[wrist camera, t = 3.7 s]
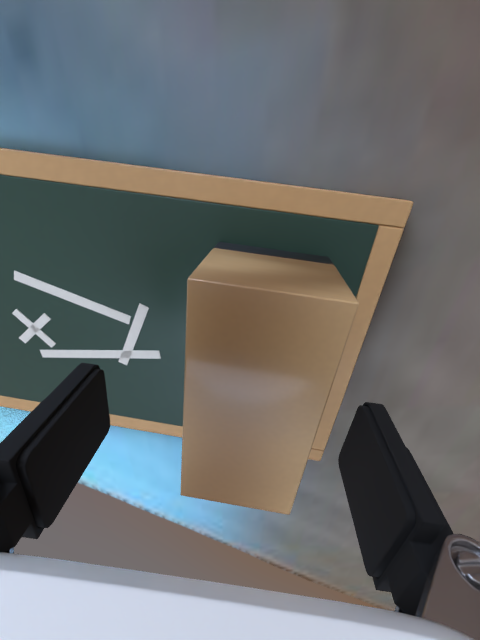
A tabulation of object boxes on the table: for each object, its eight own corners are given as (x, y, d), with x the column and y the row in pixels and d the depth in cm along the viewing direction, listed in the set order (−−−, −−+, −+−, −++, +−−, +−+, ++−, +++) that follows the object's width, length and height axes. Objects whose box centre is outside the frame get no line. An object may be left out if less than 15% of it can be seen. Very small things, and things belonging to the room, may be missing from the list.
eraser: (329, 256, 12) (360, 302, 8) (286, 425, 17) (289, 515, 12) (218, 241, 13) (186, 277, 8) (204, 412, 17) (180, 495, 13)
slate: (404, 199, 12) (415, 201, 11) (318, 448, 19) (320, 462, 18) (-138, 130, 13) (-169, 126, 12) (-33, 388, 20) (-48, 399, 19)
